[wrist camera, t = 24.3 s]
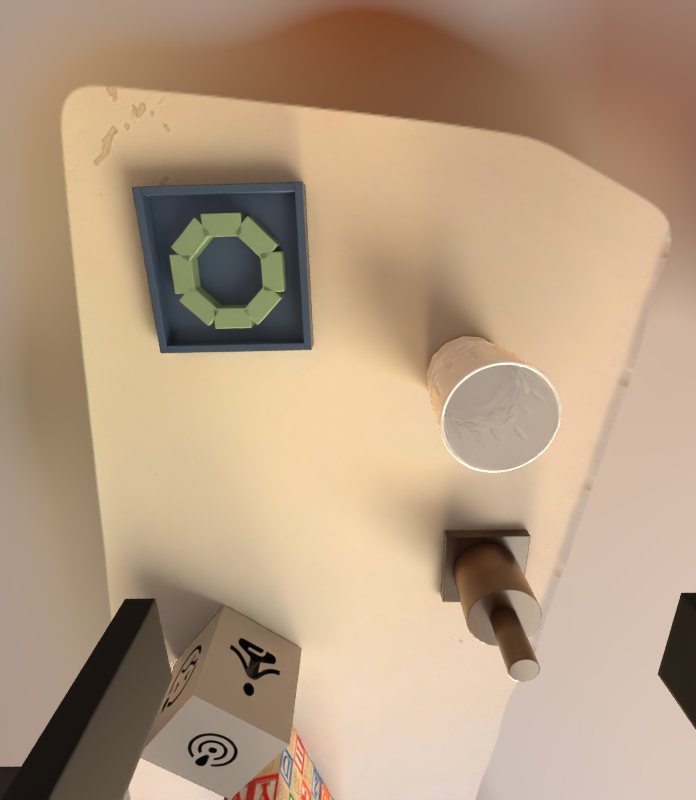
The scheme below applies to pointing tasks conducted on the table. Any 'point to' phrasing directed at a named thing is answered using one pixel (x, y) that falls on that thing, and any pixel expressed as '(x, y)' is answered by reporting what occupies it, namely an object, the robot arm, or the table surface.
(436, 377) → the white cup
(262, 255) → the ring
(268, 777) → the stack of blocks
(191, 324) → the tray
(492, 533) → the peg stand
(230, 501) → the table surface
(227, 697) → the icon cube
